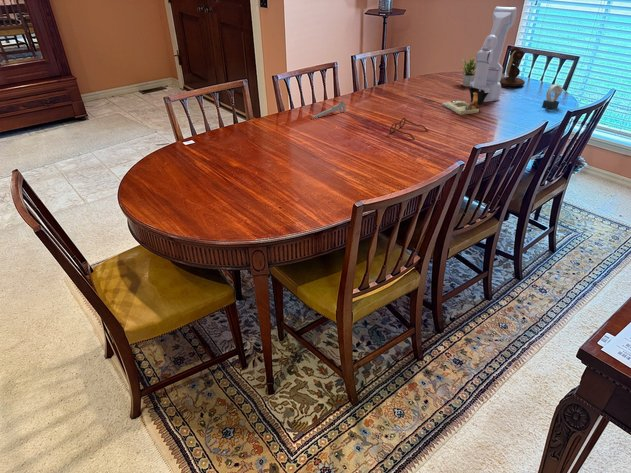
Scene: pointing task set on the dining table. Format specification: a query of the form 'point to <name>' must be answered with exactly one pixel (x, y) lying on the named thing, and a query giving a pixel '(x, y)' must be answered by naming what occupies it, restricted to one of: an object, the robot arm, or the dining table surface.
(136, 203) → the dining table surface
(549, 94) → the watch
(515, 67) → the brown carved statue
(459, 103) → the pale green hollowed slab
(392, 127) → the glasses
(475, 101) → the amber jar
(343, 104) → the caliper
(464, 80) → the house plant
